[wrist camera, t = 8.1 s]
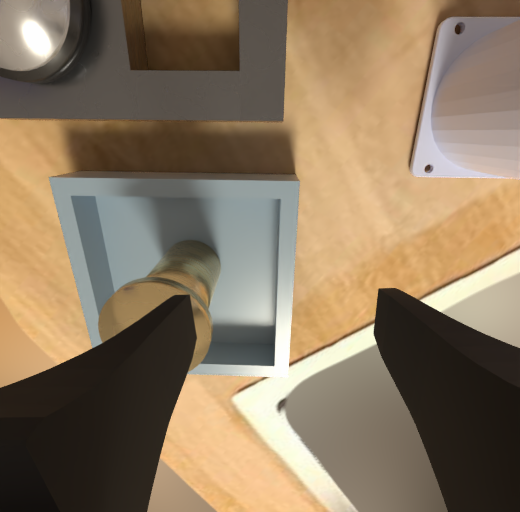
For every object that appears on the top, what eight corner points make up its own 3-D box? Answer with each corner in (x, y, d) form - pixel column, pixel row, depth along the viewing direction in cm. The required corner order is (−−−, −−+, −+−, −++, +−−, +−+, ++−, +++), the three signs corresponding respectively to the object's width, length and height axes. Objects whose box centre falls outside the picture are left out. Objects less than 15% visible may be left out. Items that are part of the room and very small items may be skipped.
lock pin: (227, 231, 20) (205, 284, 13) (231, 298, 22) (214, 377, 15) (150, 232, 20) (86, 285, 13) (161, 299, 22) (111, 378, 15)
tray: (295, 174, 19) (299, 181, 16) (285, 349, 24) (287, 377, 22) (80, 170, 19) (48, 177, 17) (117, 344, 25) (98, 371, 22)
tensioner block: (289, -110, 14) (296, -196, 10) (281, 122, 18) (284, 119, 14) (-40, -107, 14) (-146, -188, 11) (21, 119, 18) (-42, 116, 15)
